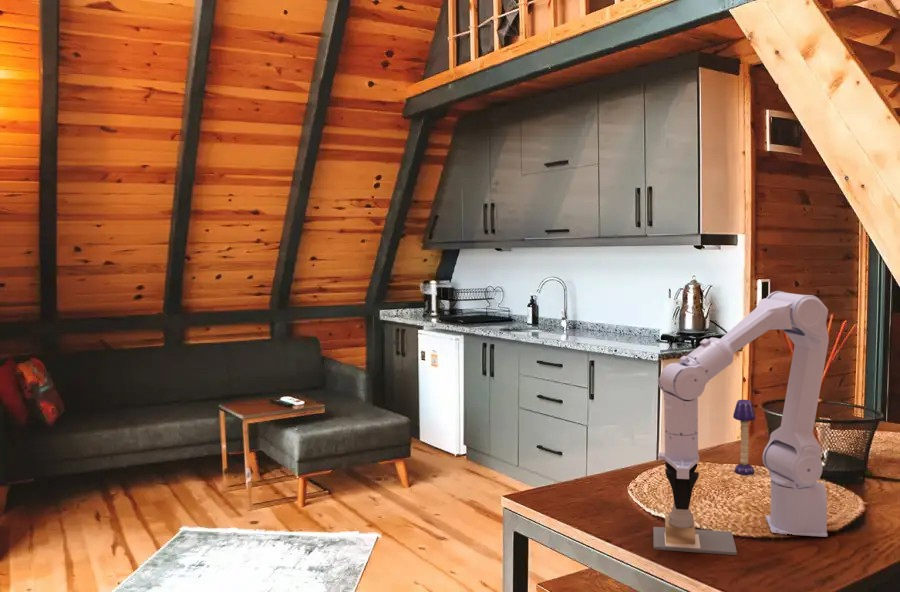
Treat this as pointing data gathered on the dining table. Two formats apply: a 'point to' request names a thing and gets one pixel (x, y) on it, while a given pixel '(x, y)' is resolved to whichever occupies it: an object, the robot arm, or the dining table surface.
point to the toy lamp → (744, 434)
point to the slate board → (698, 542)
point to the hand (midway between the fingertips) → (681, 505)
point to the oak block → (679, 533)
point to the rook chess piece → (681, 518)
